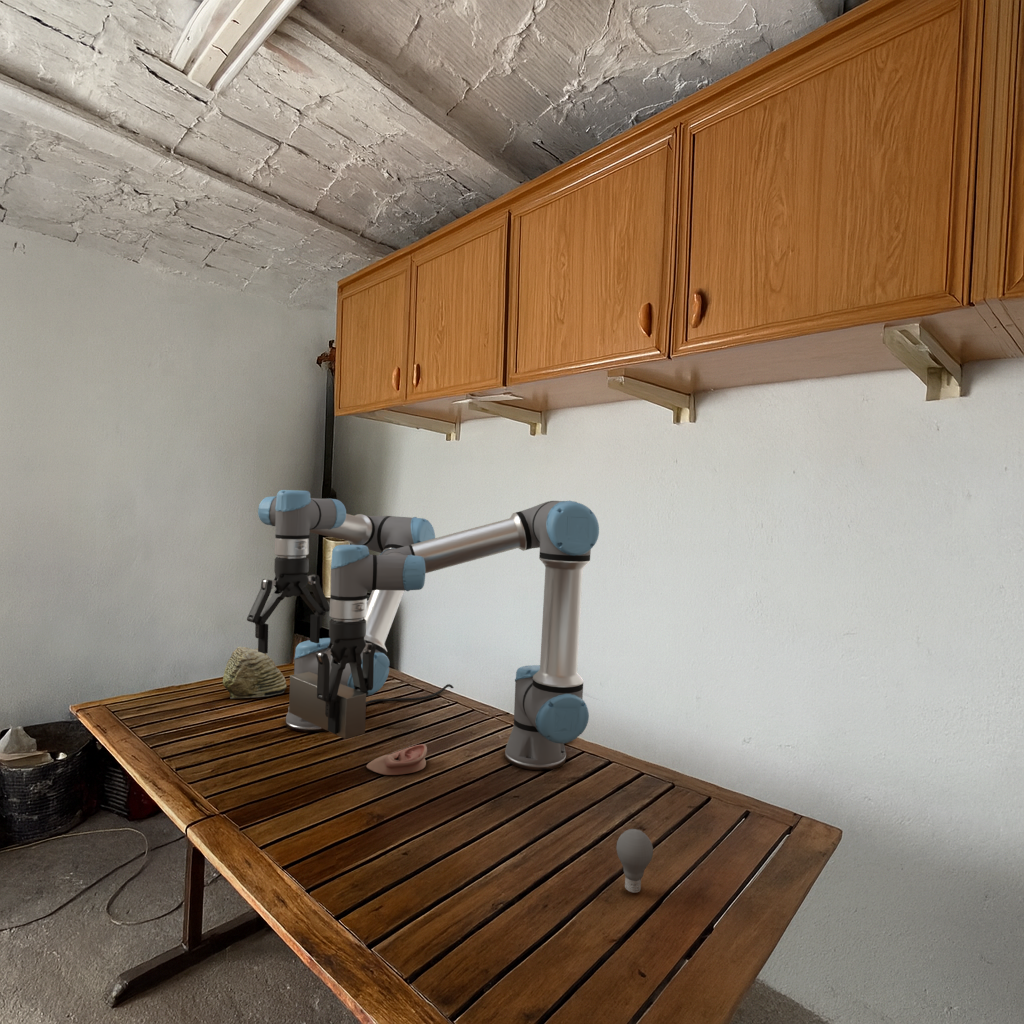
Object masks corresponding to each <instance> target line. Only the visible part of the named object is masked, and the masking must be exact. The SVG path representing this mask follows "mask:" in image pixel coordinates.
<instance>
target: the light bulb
mask: <svg viewBox="0 0 1024 1024" xmlns="http://www.w3.org/2000/svg"><path fill="white" fill-rule="evenodd" d="M615 849H616V854H617V857H618V859H619V861H620V863H621V865H622V867H623V873H624V874H623V875H624V876H625V878H624V888H625V890H627V891H628V892H630V893H634V894H635V893H639V892H640V891H641V889H642V887H641V886H642V879H643V877H644V875H645V871H646V868H647V867H648V866H649V864H650V863H651V861H652V859H653V855H654V847H653V843H652V841H651V838H649V836H648V835H647V834H646V833H645V832H643V831H642V830H641V829H636V828H629V829H627V830H625V831H623V832H622V833H621V834H620V835H619V837H618V839H617V841H616V847H615Z"/></svg>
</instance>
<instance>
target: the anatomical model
mask: <svg viewBox="0 0 1024 1024" xmlns="http://www.w3.org/2000/svg"><path fill="white" fill-rule="evenodd" d="M427 754H428V747H427V745H426V744H424V743H421V744H416V745H413V746H409V747H405V748H403V749H401V750H397V751H395V752H392V753H389V754H385V755H382V756H381V755H380V756H379V757H377V758H375V759H372V760H371V761H370V762H368V763H367V764H366V768H367V770H369V771H371V772H374V773H377V774H379V775H383V776H399V775H406V774H412V773H417V772H419V771H421V770H423V769H424V768H425V767H426V766H427V760H426V756H427Z"/></svg>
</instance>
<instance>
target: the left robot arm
mask: <svg viewBox="0 0 1024 1024" xmlns="http://www.w3.org/2000/svg"><path fill="white" fill-rule="evenodd" d="M257 509H258V510H257V516H258V519H259V520H260V522H261V523H262V524H264V525H267V526H271V527H275V536H274V555H275V556H276V557H275V558H274V565H273V566H274V567H273V571H274V572H273V573H274V579H268V578H267V579H266V578H262V579H261V582H260V589H259V591H258V594H257V595H256V598H255V600H254V602H253V604H252V606H251V609H250V610H249V613H248V614H247V617H246V621H247V622H250V623H253V624H254V625H255V628H254V630H255V631H254V637H255V638H256V639H257V648H258V652H261V653H264V654H268V652H269V624H268V623H266V622H267V621H268V619H269V618H270V617H271V615H272V614H273V613H274V611H275V610H276V608H278V606H279V604H280V603H281V601H283V600H284V599H285V598H292V597H301V599H302V601H304V603H305V604H306V605H307V607H308V608H309V609H310V610H311V612H312V613H313V614H310V622H309V623H310V625H309V626H310V627H309V639H307V640H304V641H302V642H299V643H298V644H297V645H296V647H295V652H294V653H295V654H294V657H293V662H294V663H293V665H294V666H293V675H296V674H301V673H306V672H311V673H314V674H316V675H318V661H317V658H316V653H317V652H318V651H319V652H323V651H325V650H326V649H328V646H329V643H330V637H322V638H320V633H321V632H320V630H321V629H322V627H323V616H326V614H327V613H329V612H330V604H329V603H328V601H327V598H326V595H325V593H324V592H323V588H322V586H321V582H320V576H319V575H318V574H313V573H311V574H309V575H308V573H309V570H310V569H309V568H310V567H309V566H310V563H309V562H310V559H309V557H308V556H309V554H310V533H311V534H315V535H319V536H320V535H321V536H325V537H329V538H334V539H339V540H344V541H347V542H348V544H349V545H364V546H367V547H368V549H369V551H371V552H375V553H380V554H381V553H382V552H383V551H385V550H387V549H391V548H396V549H397V548H401V547H404V546H409V545H412V544H415V543H419V542H423V541H427V540H430V539H434V538H436V534H435V530H434V526H433V524H432V523H431V522H430V521H429V520H428V519H426V518H423V517H417V516H413V517H412V516H411V517H410V516H396V515H395V516H393V515H366V514H363V513H357V514H355V515H353V514H350V513H347V509H346V506H345V504H344V503H343V502H342V501H341V500H339V499H336V498H331V497H330V498H329V497H328V498H327V497H326V498H314V497H311V492H310V491H309V490H300V489H299V490H296V489H280V490H279V491H277V493H276V495H275V496H266V497H264V498H263V499H262V500H261V501H260V503H259V505H258V508H257ZM308 584H309V586H310V589H311V591H312V594H313V596H314V597H313V596H312V595H311V592H310V591H309V589H308V588H307V585H308ZM273 589H274V590H273ZM272 590H273V592H272ZM271 592H272V593H271ZM405 592H406V590H371V593H370V596H369V598H368V599H367V612H366V617H364V619H365V620H366V635H365V637H364V639H365V641H366V643H371V644H374V645H376V650H375V654H374V673H373V689H372V690H369V691H367V692H368V695H367V696H366V697H370V696H372V695H373V696H374V694H376V693H378V692H379V691H380V690H381V689H382V688H383V687H384V685H385V683H386V681H387V679H388V677H389V674H390V666H391V665H390V663H391V662H390V659H389V656H387V654H388V649H387V647H386V641H387V638H388V635H389V633H390V630H391V628H392V626H393V622H394V619H395V617H396V615H397V612H398V609H399V606H400V604H401V602H402V599H403V596H404V593H405ZM270 595H271V596H270ZM269 597H270V598H269ZM330 658H331V660H329V662H330V672H331V668H332V666H331V662H332V658H333V657H332V656H331V655H330ZM361 660H363V651H362V653H361ZM338 664H340V663H338ZM361 666H362V664H361ZM329 676H330V675H329ZM340 684H342V685H345V686H348V687H350V688H353V689H354V683H353V678H352V673H351V668H350V664H349V663H347V664H346V667H345V669H344V670H343V673H342V677H341V681H340ZM447 688H450V689H454V686H453V685H452V684H450V683H447V684H446V685H445V686H443V687H442V688H441V689H440V690H438V691H436V692H434V693H431V694H428V695H424V696H418V697H397V698H396V697H395V698H376V699H370V700H366V706H367V705H369V704H372V703H381V702H382V703H383V702H406V701H409V702H411V701H421V700H426V699H430V698H432V697H433V698H434V697H436V696H438V695H440V694H442V693H443V692H444V691H445V690H446V689H447ZM287 709H288V711H287V713H286V715H285V726H286V728H287V729H289V730H291V731H294V732H295V731H296V732H301V733H316V732H325V731H326V730H325V729H323V728H321V727H319V726H317V725H315V724H312V723H310V722H308V721H306V720H304V719H302V718H300V717H298V716H296V715H294V714H292V713H290V712H289V707H288V708H287Z"/></svg>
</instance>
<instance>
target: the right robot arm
mask: <svg viewBox="0 0 1024 1024" xmlns="http://www.w3.org/2000/svg"><path fill="white" fill-rule="evenodd" d="M599 535H600V525H599V521H598V518H597V516H596V515H595V513H594V512H593V511H592V510H591V508H590V507H588V506H586V505H585V504H583V503H580V502H577V501H575V500H574V501H573V500H549V501H545V502H542V503H539V504H537V505H534V506H532V507H528V508H526V509H523V510H520V511H516V512H512V514H511V516H510V517H509V518H506V519H503V520H499V521H495V522H491V523H488V524H487V523H486V524H483V525H479V526H475V527H471V528H468V529H464V530H461V531H456V532H453V533H449V534H446V535H442V536H439V537H435V538H434V539H430V540H427V541H423V542H419V543H415V544H412V545H409V546H404V547H401V548H397V549H396V548H391V549H387V550H385V551H383V552H382V553H380V554H379V555H378V554H370V550H369V549H368V547H367V546H364V545H352V544H338V545H336V546H335V547H333V548H332V552H331V563H330V595H329V596H330V597H329V607H330V611H329V617H330V618H331V619H330V620H329V622H328V623H329V624H328V638H330V643H329V646H328V649H326V650H325V651H323V652H319V651H318V652H317V653H316V658H317V661H318V679H317V698H318V699H320V700H322V701H325V702H326V706H325V709H326V710H325V715H326V717H328V731H327V732H329V731H330V733H331V732H332V733H331V734H333V733H334V734H333V735H335V734H337V733H338V725H339V702H338V701H336V698H337V693H338V689H339V685H340V681H341V677H342V673H343V670H344V669H345V667H346V664H347V663H349V664H350V668H351V673H352V678H353V683H354V689H355V690H358V691H361V692H363V693H366V697H368V696H367V695H368V692H367V691H369V690H372V689H373V673H374V654H375V650H376V645H374V644H371V643H366V641H365V639H364V637H365V635H366V620H365V619H364V617H366V612H367V603H368V591H372V590H405V592H410V591H420V590H422V589H424V587H425V583H426V574H428V573H429V574H430V573H433V572H437V571H440V570H443V569H447V568H450V567H454V566H458V565H462V564H465V563H468V562H473V561H476V560H480V559H483V558H486V557H490V556H494V555H499V554H502V553H505V552H508V551H509V552H510V551H513V550H516V549H518V550H521V551H522V552H524V551H528V550H531V549H532V550H533V549H539V558H538V559H539V560H540V561H541V563H542V564H543V565H544V567H545V569H544V586H543V604H542V623H541V624H542V625H541V639H540V640H541V641H540V642H541V643H540V660H539V664H532V665H531V664H530V665H529V664H528V665H523V666H520V667H518V668H517V669H516V672H515V678H514V682H515V683H514V684H515V685H514V709H513V725H512V730H511V732H510V735H509V737H508V741H507V742H506V745H505V749H504V751H505V752H504V758H505V760H506V761H507V762H508V763H509V764H511V765H512V766H515V767H518V768H520V769H524V770H529V771H549V770H554V769H557V768H560V767H562V766H563V765H564V764H565V763H566V760H567V750H566V746H565V744H568V743H571V742H573V741H575V740H576V739H577V738H579V736H581V735H582V734H583V732H584V731H585V730H586V728H587V726H588V723H589V720H590V719H589V718H590V713H589V708H588V705H587V703H586V702H585V700H584V699H583V696H584V679H583V678H582V676H581V675H580V674H579V673H578V664H579V645H580V630H581V629H580V628H581V627H580V626H581V611H582V610H581V608H582V590H583V575H584V574H583V572H584V568H585V567H586V566H587V565H588V564H590V562H591V552H592V549H593V548H594V547H595V545H596V544H597V541H598V540H599ZM362 651H363V660H361V653H362ZM330 655H331V656H332V657H333V658H332V662H331V666H332V668H331V672H330V662H329V660H331V658H330ZM338 663H340V664H338ZM361 664H362V666H361ZM329 675H330V676H329Z"/></svg>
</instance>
